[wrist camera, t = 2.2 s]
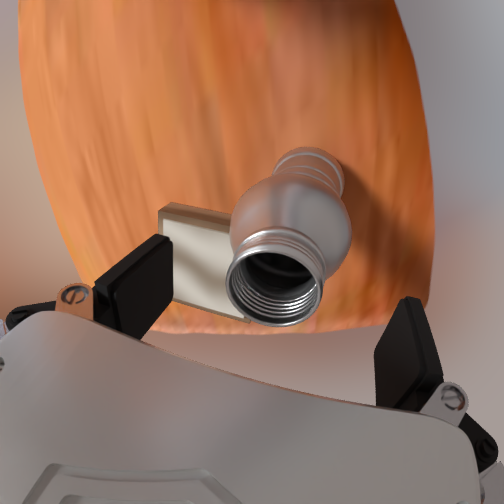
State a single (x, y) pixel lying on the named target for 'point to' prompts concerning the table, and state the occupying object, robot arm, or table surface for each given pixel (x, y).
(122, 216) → the table surface
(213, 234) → the plinth
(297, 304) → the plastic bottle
